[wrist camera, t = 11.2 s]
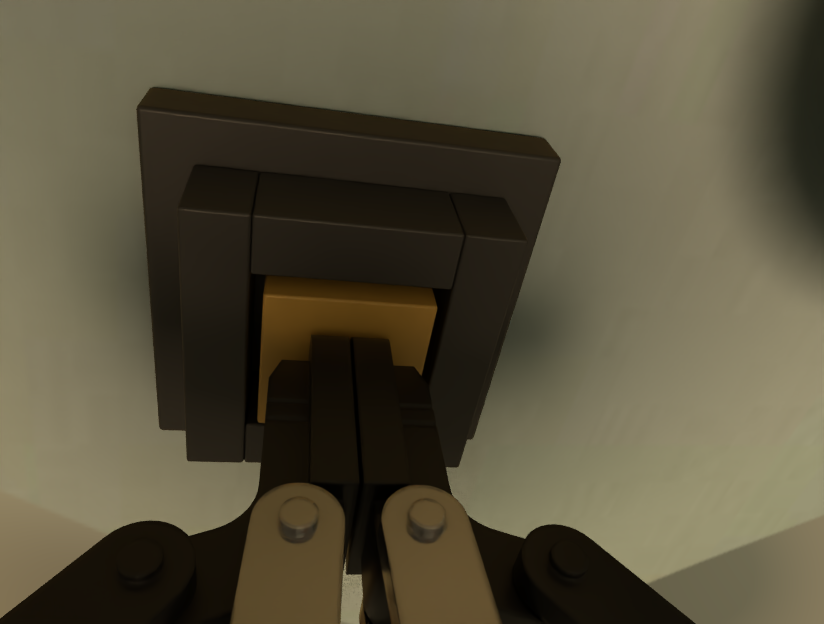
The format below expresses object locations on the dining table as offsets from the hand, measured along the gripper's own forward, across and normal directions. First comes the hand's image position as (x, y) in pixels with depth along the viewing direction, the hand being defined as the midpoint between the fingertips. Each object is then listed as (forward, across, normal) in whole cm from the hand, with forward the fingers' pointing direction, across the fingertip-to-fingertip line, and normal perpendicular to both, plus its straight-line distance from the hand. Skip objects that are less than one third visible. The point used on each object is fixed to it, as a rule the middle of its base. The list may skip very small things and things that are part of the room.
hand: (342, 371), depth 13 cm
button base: (+3, 0, 0) cm, 3 cm away
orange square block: (+2, 0, 0) cm, 2 cm away
